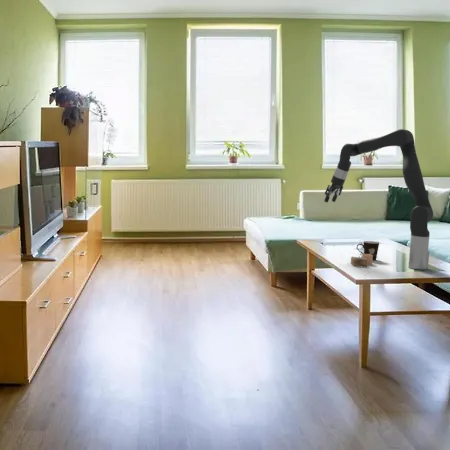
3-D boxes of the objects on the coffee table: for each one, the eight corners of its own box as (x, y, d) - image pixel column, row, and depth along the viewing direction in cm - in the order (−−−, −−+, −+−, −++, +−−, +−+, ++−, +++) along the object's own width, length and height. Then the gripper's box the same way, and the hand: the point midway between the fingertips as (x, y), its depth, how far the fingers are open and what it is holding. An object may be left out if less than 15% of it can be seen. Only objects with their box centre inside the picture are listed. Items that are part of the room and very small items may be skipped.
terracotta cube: (370, 263, 305) (370, 254, 304) (372, 264, 300) (372, 255, 299) (361, 262, 305) (361, 253, 304) (362, 264, 300) (363, 255, 299)
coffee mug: (379, 259, 317) (381, 242, 316) (375, 261, 310) (376, 243, 309) (359, 257, 323) (360, 240, 322) (355, 259, 316) (356, 241, 314)
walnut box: (363, 264, 299) (364, 257, 299) (366, 267, 292) (367, 259, 292) (350, 264, 300) (351, 256, 299) (353, 266, 293) (353, 259, 292)
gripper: (338, 179, 316) (328, 204, 321) (350, 179, 326) (340, 204, 332) (328, 173, 320) (318, 199, 325) (340, 174, 331) (330, 198, 336)
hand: (329, 201), depth 329 cm, fingers open, 8 cm apart
